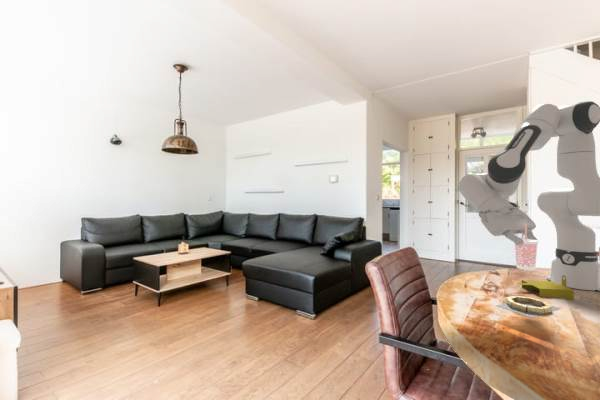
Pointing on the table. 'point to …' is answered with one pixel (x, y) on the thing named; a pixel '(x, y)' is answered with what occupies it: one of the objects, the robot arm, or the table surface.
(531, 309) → the socket
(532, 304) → the board
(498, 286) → the table surface
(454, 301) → the table surface
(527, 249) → the beverage cup
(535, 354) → the table surface
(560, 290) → the bracket
